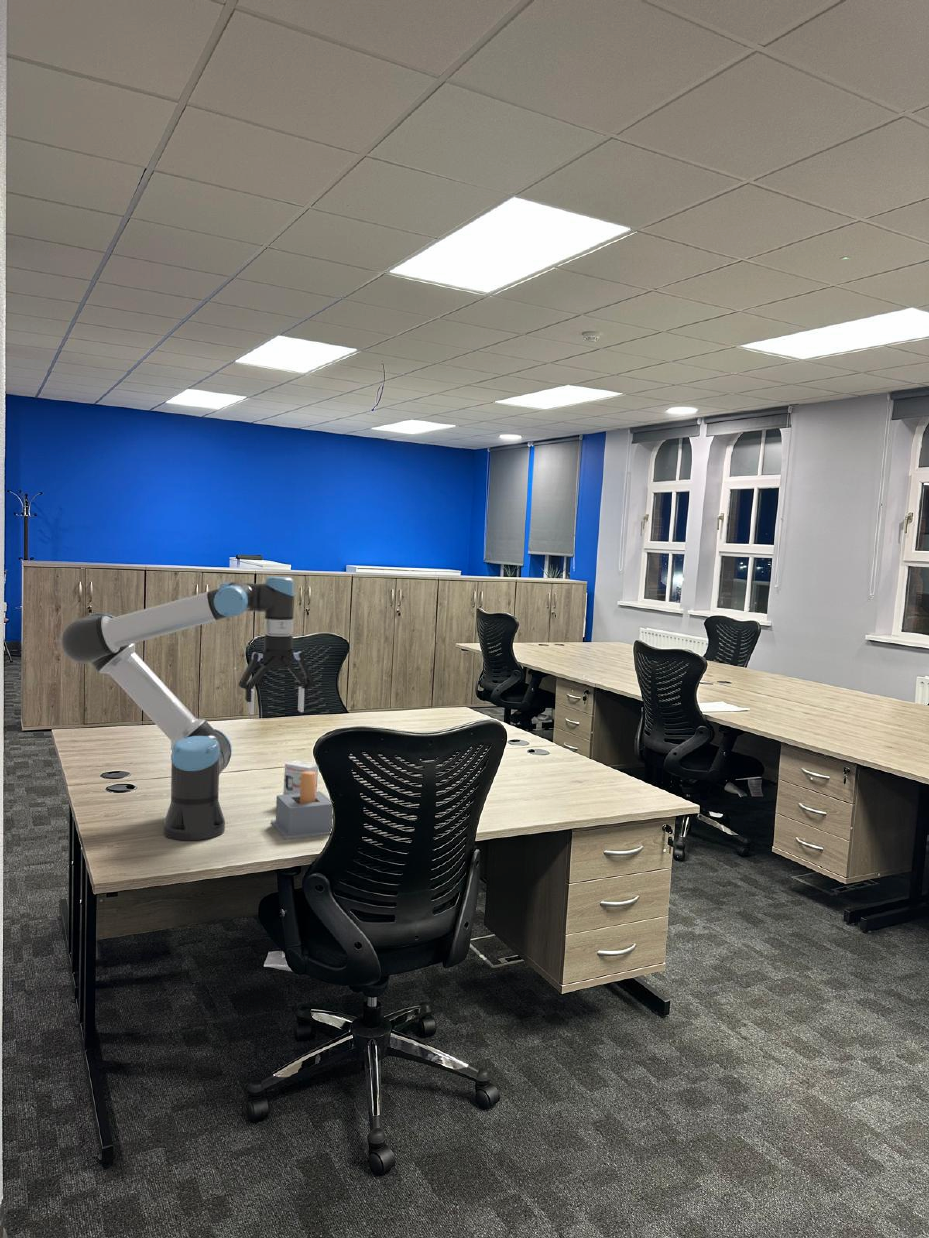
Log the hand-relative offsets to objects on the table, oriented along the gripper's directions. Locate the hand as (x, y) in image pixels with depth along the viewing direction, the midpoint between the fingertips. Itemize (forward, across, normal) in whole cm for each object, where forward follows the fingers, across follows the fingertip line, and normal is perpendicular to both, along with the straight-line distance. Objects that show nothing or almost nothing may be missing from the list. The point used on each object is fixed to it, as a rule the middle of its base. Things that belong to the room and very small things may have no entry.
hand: (276, 712), depth 237 cm
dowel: (+28, +6, -12) cm, 31 cm away
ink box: (+29, +10, +8) cm, 32 cm away
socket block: (+29, +5, -12) cm, 31 cm away
